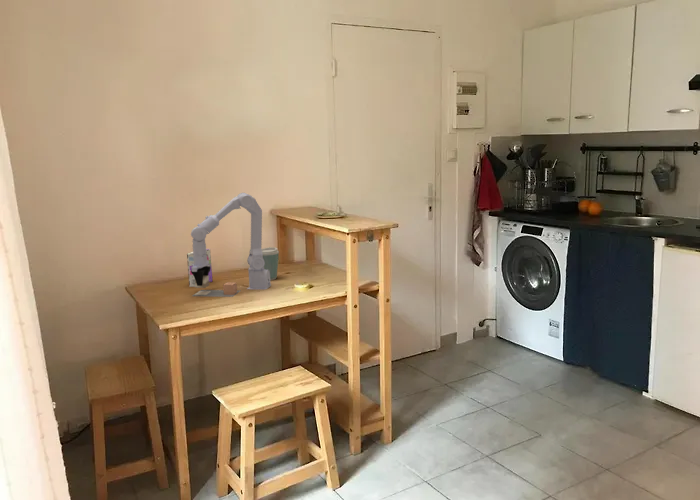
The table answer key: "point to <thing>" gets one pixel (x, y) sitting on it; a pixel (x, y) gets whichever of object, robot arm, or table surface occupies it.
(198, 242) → the robot arm
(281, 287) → the table surface
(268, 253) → the disposable coffee cup
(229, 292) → the block terracotta
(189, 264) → the candy box
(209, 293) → the board
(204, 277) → the block cream
